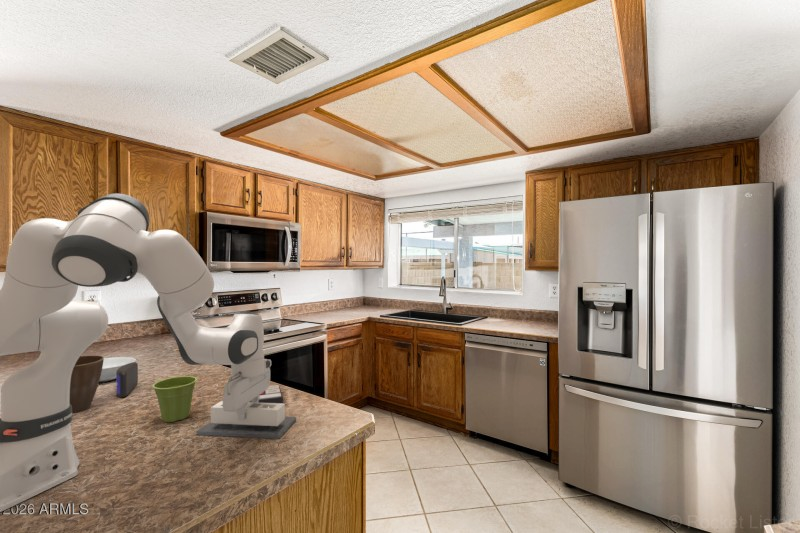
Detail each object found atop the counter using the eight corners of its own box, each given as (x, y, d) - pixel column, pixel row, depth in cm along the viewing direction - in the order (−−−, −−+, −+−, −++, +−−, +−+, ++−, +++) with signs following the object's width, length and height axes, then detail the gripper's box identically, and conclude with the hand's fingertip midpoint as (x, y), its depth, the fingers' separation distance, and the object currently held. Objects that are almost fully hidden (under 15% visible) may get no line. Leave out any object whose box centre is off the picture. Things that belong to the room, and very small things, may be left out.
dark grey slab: (124, 386, 145) (124, 362, 145) (138, 384, 147) (138, 361, 147) (110, 400, 130) (110, 373, 130) (126, 398, 132) (126, 371, 132)
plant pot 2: (158, 413, 118) (157, 378, 118) (200, 408, 122) (199, 374, 122) (147, 429, 107) (147, 390, 107) (194, 422, 111) (193, 385, 111)
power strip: (277, 426, 104) (277, 409, 104) (210, 423, 106) (210, 406, 106) (284, 418, 109) (284, 402, 109) (221, 415, 111) (221, 400, 111)
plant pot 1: (111, 406, 123) (111, 359, 123) (51, 422, 111) (51, 369, 111) (95, 398, 132) (94, 353, 132) (38, 412, 119) (37, 362, 119)
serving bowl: (127, 383, 149) (127, 366, 149) (61, 390, 141) (61, 372, 141) (142, 369, 168) (142, 354, 168) (85, 375, 160) (84, 359, 160)
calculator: (279, 383, 137) (282, 394, 123) (280, 395, 137) (283, 407, 123) (247, 387, 133) (247, 399, 119) (247, 399, 132) (247, 412, 119)
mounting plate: (278, 438, 100) (278, 415, 100) (196, 434, 103) (196, 412, 103) (296, 420, 112) (296, 399, 112) (221, 417, 115) (221, 396, 115)
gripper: (238, 378, 97) (238, 431, 97) (273, 359, 117) (274, 402, 117) (216, 378, 97) (216, 430, 97) (255, 358, 118) (255, 402, 118)
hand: (248, 415), depth 107 cm, fingers closed on power strip, 5 cm apart
